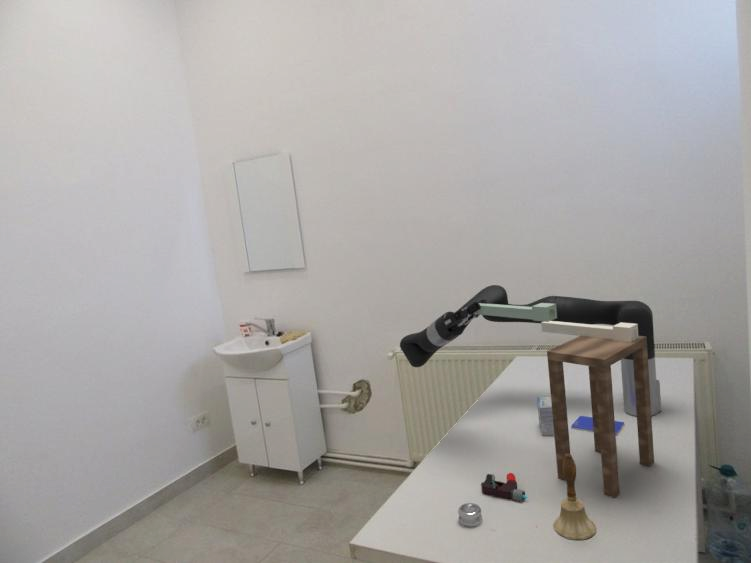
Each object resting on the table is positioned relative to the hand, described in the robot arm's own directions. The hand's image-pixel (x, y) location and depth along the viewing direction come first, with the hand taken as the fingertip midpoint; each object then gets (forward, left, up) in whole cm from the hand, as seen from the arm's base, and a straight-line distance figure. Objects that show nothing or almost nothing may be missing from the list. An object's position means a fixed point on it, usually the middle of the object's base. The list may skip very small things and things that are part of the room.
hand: (482, 303), depth 142 cm
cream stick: (-22, +13, -9) cm, 27 cm away
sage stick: (-5, +8, -3) cm, 9 cm away
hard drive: (-31, -1, -42) cm, 52 cm away
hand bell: (-1, +39, -42) cm, 57 cm away
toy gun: (+5, +20, -42) cm, 47 cm away
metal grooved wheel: (+18, +29, -42) cm, 54 cm away
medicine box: (-18, -5, -42) cm, 46 cm away
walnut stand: (-19, +22, -41) cm, 51 cm away
